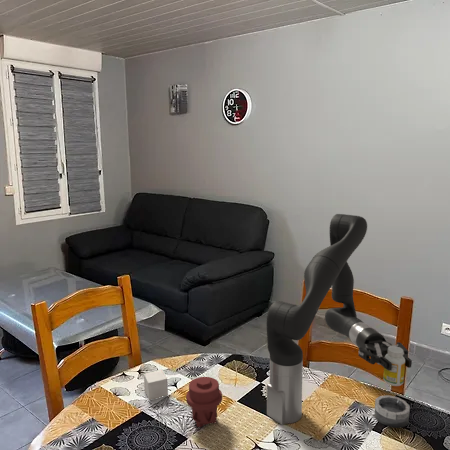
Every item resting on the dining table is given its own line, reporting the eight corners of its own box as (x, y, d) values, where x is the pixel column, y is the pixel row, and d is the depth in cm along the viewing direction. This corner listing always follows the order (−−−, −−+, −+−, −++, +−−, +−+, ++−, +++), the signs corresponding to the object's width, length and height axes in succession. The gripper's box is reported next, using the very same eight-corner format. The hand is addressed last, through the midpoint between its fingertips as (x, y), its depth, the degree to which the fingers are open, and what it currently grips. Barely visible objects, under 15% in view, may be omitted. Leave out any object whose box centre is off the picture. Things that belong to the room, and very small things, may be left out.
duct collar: (397, 432, 113) (398, 418, 112) (368, 416, 120) (368, 403, 119) (414, 419, 118) (415, 406, 118) (385, 404, 125) (386, 391, 125)
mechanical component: (193, 436, 112) (182, 415, 121) (228, 426, 116) (214, 406, 125) (192, 394, 110) (181, 376, 119) (227, 385, 114) (213, 368, 123)
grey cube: (149, 401, 129) (148, 383, 128) (144, 391, 134) (143, 373, 133) (168, 396, 131) (167, 378, 130) (162, 386, 137) (162, 369, 136)
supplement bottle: (388, 387, 115) (390, 354, 113) (379, 376, 120) (381, 345, 118) (407, 385, 115) (409, 353, 113) (397, 375, 120) (399, 344, 118)
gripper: (345, 329, 128) (377, 356, 111) (388, 324, 131) (424, 349, 115) (344, 352, 129) (376, 382, 113) (386, 347, 132) (422, 375, 116)
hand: (400, 365), depth 114 cm, fingers closed on supplement bottle, 5 cm apart
